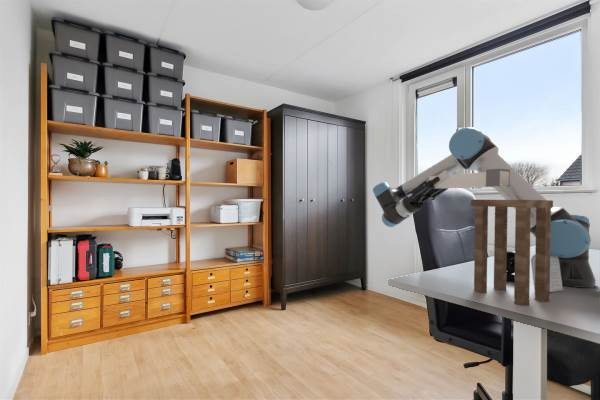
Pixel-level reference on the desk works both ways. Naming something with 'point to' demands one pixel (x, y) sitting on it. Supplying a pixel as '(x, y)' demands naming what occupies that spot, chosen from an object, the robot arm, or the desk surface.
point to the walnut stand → (520, 247)
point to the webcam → (510, 266)
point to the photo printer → (551, 273)
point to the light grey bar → (476, 179)
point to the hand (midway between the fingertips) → (451, 173)
